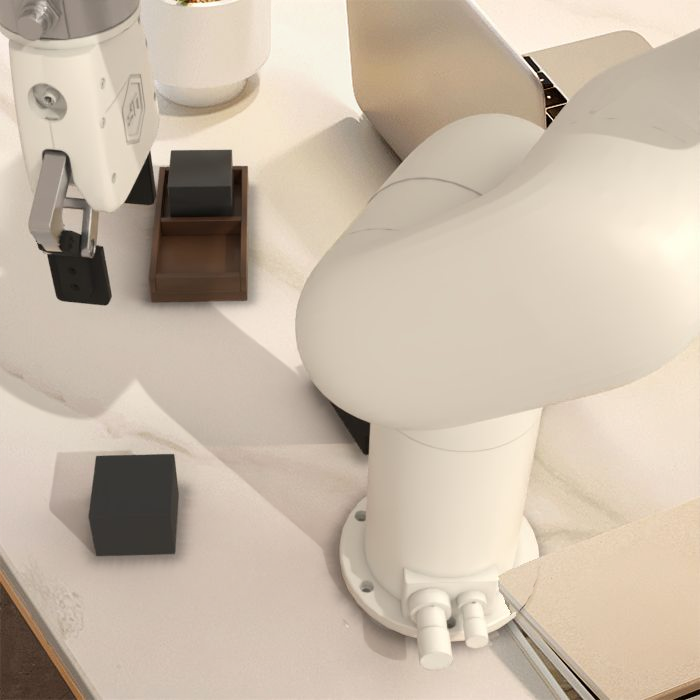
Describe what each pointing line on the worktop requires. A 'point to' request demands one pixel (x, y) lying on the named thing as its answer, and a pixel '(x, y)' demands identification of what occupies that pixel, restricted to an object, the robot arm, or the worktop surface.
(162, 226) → the partitioned wooden crate
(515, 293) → the robot arm
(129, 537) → the block
